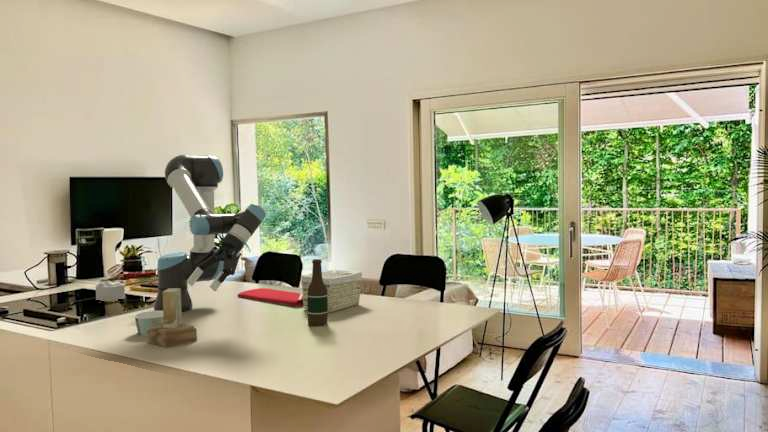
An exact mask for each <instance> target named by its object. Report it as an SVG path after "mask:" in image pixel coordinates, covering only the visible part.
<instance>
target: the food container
mask: <svg viewBox="0 0 768 432" xmlns="http://www.w3.org/2000/svg"><path fill="white" fill-rule="evenodd" d="M133 318H134V320H135V324H136V329H137V334H138V335H139V336H147V337H148V330H150V327H153V326H158V325H163V324H164V322H163V311H154V310H148V311H142V312H138V313H135V314H133Z"/></svg>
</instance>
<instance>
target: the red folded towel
mask: <svg viewBox="0 0 768 432" xmlns="http://www.w3.org/2000/svg"><path fill="white" fill-rule="evenodd" d="M236 296H237V297H238V298H243V299H249V300H253V301H259V302H265V303H270V304H271V303H273V304H277V305H279V304H280V305H285V306H292V307H304V305H303V294H302V293H301V292H294V291H293V292H292V291H285V290H280V289H275V288H274V289H273V288H266V287H265V288H264V287H262V288H261V287H260V288H254V289H253V288H252V289H248V290H244V291H242V292H239V293H238V294H237V295H236Z"/></svg>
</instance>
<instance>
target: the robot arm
mask: <svg viewBox="0 0 768 432" xmlns="http://www.w3.org/2000/svg"><path fill="white" fill-rule="evenodd" d="M164 178H165V180H166V183H167V184H168V186H170V188H171V189H174V191H175V193H176V194H177V196H178V198H179V200H180V201H181V202H182V203H181V204H183V206H184V208H185V210H186V211H187V213H188V215H189V217H190V218H189V221H188V222H189V223H188V225H189V229H190V232H191V233H192V235H193V247H192V248H191V249H190V250H189V255H188V253H187V252H183V251H181V252H173V253H172V252H171V253H168V254H163V255H161V256H159V257H158V258H157V267H156V270H157V295H156V298H155V302H154V305H153V311H163V291H165V290H166V289H168V288H181V313H182V312H187V311H190V310H192V309H193V302H192V299H191V296H190V293H189V288H188V284H189V286H190V287H193V286H194V285H195V284H196V283H198V282H210V281H211V282H212V283H211V284H210V285H209V288H210V289H211V290H213V291H214V292H217V291H218V289H219V288H220V287H221V285H222V284H223V283H224V281H225V280H226V279H227V277H229V276H230V275H231V276H234V275H235V273H236V269H237V267H238V263H239V260H240V258H241V257H242V252H241V251H242V250H243V248H244V246H245V245H246V244H247V243H248V242H249V240H250V238H251V237H252V236H253V234H254V233H255V232H256V231H257V230H258V228H259V227H260V225H261V224H262V223H263V222H264V220H265V218H266V217H267V213H266V211H265V209H264V208H263V207H262V206H260V205H259V204H257V203H250V204H249V205H248V206H247V207H246V209H245V210H244V211H242V212H239V213H219V214H218V213H216V214H215V191H216V190H217V189H218V188H219V184H220V183H221V182H222V181H223V179H224V168H223V165H222V162H221V161H220V159H219V158H218V157H216V156H214V155H197V154H196V155H194V154H193V155H191V154H188V155H187V154H179V155H177V156H175V157H173V158H171V159H170V160H169V161H168V162H167V164H166V167H165V169H164ZM225 234H226V235H225ZM215 235H225V236H224V238H222V240H221V243H220V244H221V246H220V247H219V248H218V247H217V246H216V245H215Z"/></svg>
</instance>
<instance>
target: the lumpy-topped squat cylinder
mask: <svg viewBox="0 0 768 432" xmlns="http://www.w3.org/2000/svg"><path fill="white" fill-rule="evenodd" d="M125 286H126V284H124V283H122V282H121V281H119V280H114V281H111V280H106V281H100V282H99V283H97V284H95V301H96V300H100V301H113V300H118V299H124V298H125V299H126V287H125Z"/></svg>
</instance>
